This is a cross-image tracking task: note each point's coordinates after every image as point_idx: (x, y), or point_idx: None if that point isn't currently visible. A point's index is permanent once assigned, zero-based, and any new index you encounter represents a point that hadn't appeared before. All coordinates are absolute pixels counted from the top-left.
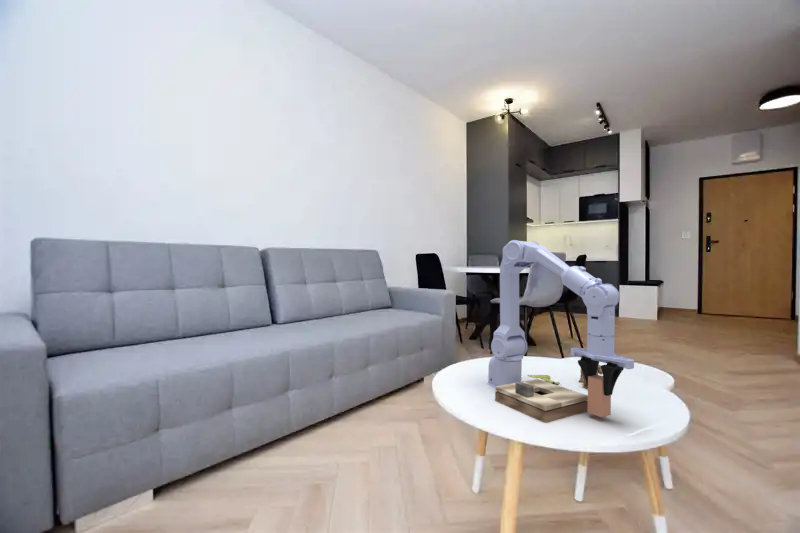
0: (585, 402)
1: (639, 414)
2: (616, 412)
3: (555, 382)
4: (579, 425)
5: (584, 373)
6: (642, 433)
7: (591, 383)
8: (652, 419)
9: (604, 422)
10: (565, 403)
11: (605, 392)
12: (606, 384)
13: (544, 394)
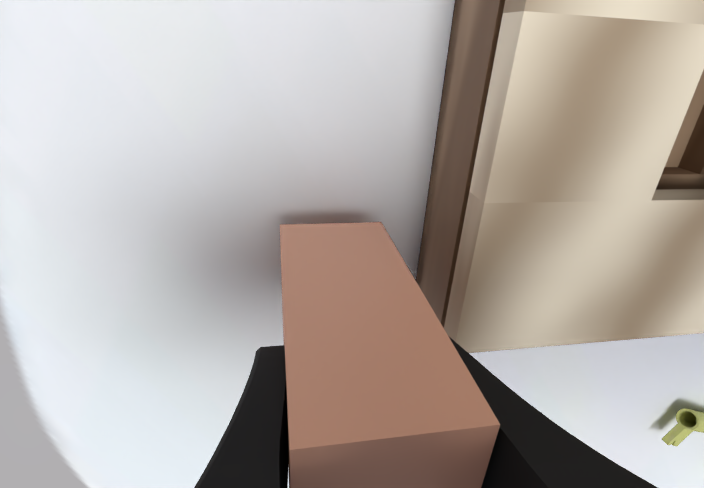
0: (443, 297)
1: None
2: None
3: (684, 431)
4: (342, 66)
5: (569, 446)
6: (99, 302)
7: (421, 367)
8: None
9: None
10: (501, 74)
11: (267, 361)
12: (241, 431)
13: None
